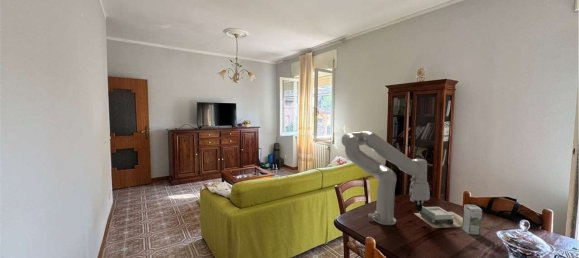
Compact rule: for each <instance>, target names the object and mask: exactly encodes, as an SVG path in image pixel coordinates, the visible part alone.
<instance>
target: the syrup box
mask: <svg viewBox="0 0 579 258" xmlns="http://www.w3.org/2000/svg"><path fill="white" fill-rule="evenodd" d="M482 215H483V209H482V208H481V207H480V206H478V205H476V204H464V205H463V214H462V217H463V224H462V227H461V229H462V230H463V232H465V233H466V234H467V235H469V236H470V235H472V236H473V235H474V236H475V235H476V236H480V235H481V226H482Z"/></svg>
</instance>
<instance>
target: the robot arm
mask: <svg viewBox="0 0 579 258" xmlns="http://www.w3.org/2000/svg"><path fill="white" fill-rule="evenodd" d="M341 144H342V145H343V146H344V152H345V156H346V157H347V159H348V160H349V161H350V162H351V163H353V164H354V165H356V166H357V167H358V168H360V169H361V170H362V171H364V172H365V173H367V174H369V175H371V176H373V177H374V178H375V179H377V180H378V184H377V187H376V188H377V189H376V206H375V207H376V210H375V211H374V212H373V213H368V214H367V217H368V218H372V219H373V221H375V222H376V223H377V224H380V225H385V226H394V225H395V224H396V223H397V219H396V218H395V217H394V208H395V189H396V184H397V174H396V173H395V172H394V170H392V169H391V168H389V167H387V165H385V164H383V163H381V162H380V161H378V160H377V159H376V158H374V157H372V156H371V155H368V154H367V153H365V152H364V151H362V150H361V148H360V146H367V147H368V148H369V149H371V150H372V151H373V152H375V153H376V154H377V155H378V156H380V157H381V158H383V159H384V160H386V161H388V162H390V163H392V164H393V165H395V166H396V167H397V168H398V169H399V170H400V171H402V172H404V173H406V175H409V176H412V177H411V178H410V181H411V182H410V185H409V201H410V202H413V203H415V210H416V211H418V212H419V211H422V206H423V205H424V204H425V202H427V201H429V200H430V198H431V196H430V195H431V194H430V185H429V182H428V161H427V160H426V159H424V158H413V159H412V158H410V157H408V156H407V155H406V154H404V153H403V152H402V151H400V150H399V149H397V148H396V147H395V146H393V145H391V144H390V143H389V142H387V141H386V140H385V139H384V138H382V137H381V136H379V135H378V134H376V133H375V132H372V131H368V130H365V131H358V132H357V131H356V132H350V133H349V132H348V133H345V134H343V136H342V137H341Z"/></svg>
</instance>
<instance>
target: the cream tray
mask: <svg viewBox="0 0 579 258" xmlns="http://www.w3.org/2000/svg"><path fill="white" fill-rule="evenodd" d="M447 212H448V213H450V214H452V216H454V217H455V219H453V221H454V223H453V224H450V223H448V222H439V224H438V225H436V224H434V222H431V221H429V220H428V219H426V218H425V217H424V216H422V215H421V214H420V213H419V212H414V213H413V214H414V215H415V216H417V218H419V219H420V220H422V221H424V222H425V224H427V225H428V226H430V227H432V228H433V229H442V228H443V229H446V228H462V224H463V216H461V215H459V214H457V213H456V212H454V211H447Z"/></svg>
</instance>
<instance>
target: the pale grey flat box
mask: <svg viewBox="0 0 579 258" xmlns="http://www.w3.org/2000/svg"><path fill="white" fill-rule="evenodd" d="M448 212H449V211H446V210H445V209H443V208H442V207H440V206H423V205H422V211H418V213H420V214H421V215H422V216H424V217H425V218H426V219H428V220H429V221H431V222H434V224H436V225H438V224H439V222H448V223H450V224H453V223H454V221H453V219H455V217H454V216H452V214H450V213H448Z"/></svg>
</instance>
